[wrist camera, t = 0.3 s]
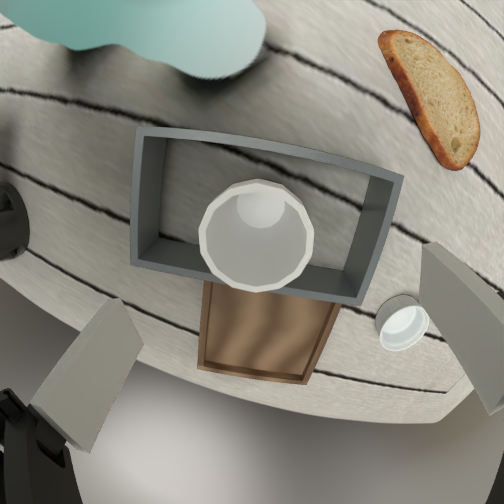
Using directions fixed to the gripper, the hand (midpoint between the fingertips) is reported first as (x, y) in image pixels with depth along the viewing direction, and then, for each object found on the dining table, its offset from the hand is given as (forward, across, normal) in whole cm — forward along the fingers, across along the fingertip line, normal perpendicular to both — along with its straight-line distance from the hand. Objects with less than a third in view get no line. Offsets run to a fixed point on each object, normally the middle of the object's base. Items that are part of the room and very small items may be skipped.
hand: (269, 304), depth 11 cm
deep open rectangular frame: (+25, -2, -2) cm, 25 cm away
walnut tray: (+25, -5, -21) cm, 33 cm away
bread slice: (+25, +24, +9) cm, 36 cm away
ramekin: (+25, +16, -23) cm, 38 cm away
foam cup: (+25, -2, -2) cm, 25 cm away
